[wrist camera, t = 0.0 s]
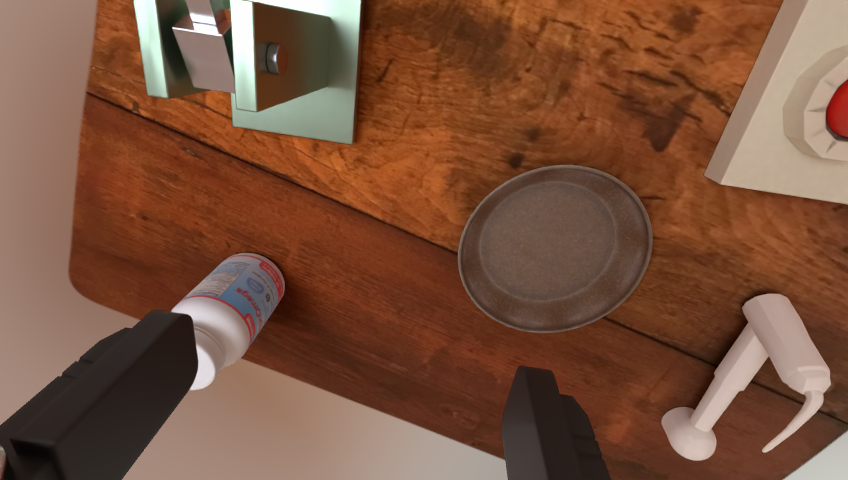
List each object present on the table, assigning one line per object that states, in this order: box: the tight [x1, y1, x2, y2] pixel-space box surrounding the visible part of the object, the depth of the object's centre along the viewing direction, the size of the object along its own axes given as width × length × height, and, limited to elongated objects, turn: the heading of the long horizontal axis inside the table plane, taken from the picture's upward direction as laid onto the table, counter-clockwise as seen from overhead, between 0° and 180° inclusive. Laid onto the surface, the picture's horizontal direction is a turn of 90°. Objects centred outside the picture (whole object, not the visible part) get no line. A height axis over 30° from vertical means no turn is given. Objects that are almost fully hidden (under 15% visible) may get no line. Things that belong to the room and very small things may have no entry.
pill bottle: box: [171, 253, 285, 390], centre depth 33 cm, size 6×6×11 cm
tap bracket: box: [133, 0, 365, 145], centre depth 23 cm, size 12×9×13 cm
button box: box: [704, 0, 848, 204], centre depth 26 cm, size 13×10×4 cm
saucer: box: [458, 165, 653, 333], centre depth 33 cm, size 15×15×3 cm
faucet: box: [661, 294, 831, 460], centre depth 36 cm, size 4×18×10 cm, turn 169°
